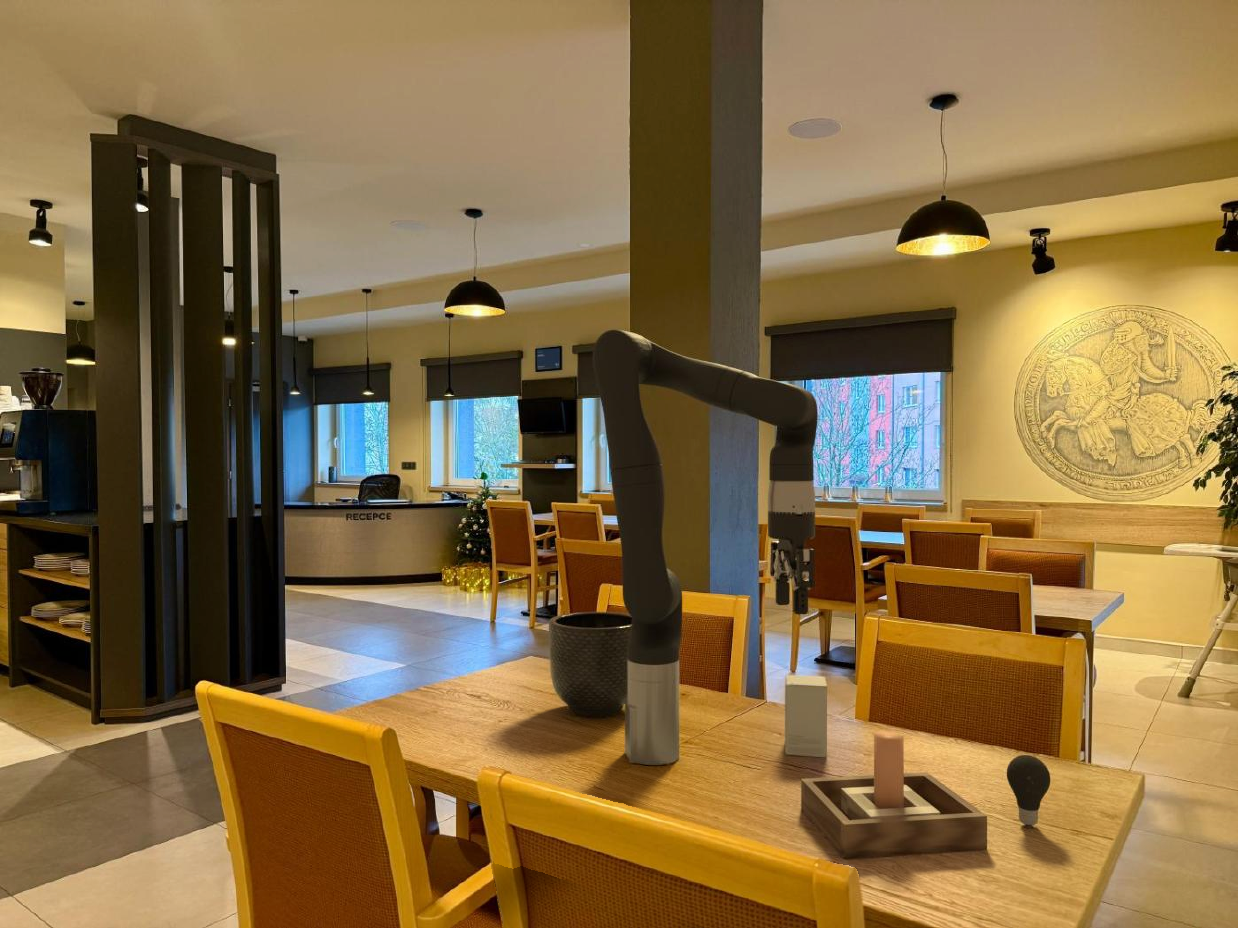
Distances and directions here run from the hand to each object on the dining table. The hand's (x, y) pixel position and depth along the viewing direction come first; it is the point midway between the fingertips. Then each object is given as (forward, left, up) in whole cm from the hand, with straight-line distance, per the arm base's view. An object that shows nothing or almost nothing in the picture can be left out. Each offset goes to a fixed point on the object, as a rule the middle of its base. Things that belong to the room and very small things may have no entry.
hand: (791, 609), depth 135 cm
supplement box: (+8, +15, -28) cm, 33 cm away
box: (+8, -18, -28) cm, 34 cm away
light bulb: (+28, -20, -28) cm, 45 cm away
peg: (+8, -18, -27) cm, 33 cm away
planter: (-27, +44, -28) cm, 59 cm away
